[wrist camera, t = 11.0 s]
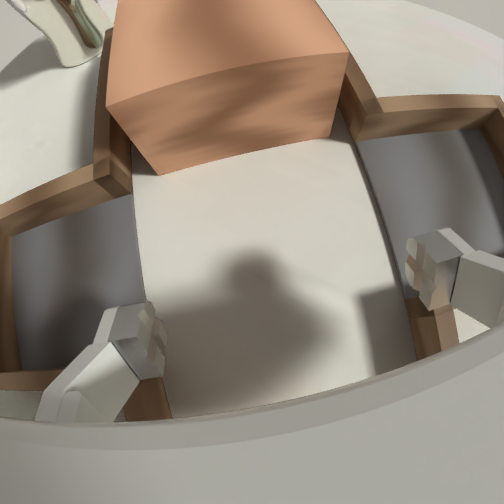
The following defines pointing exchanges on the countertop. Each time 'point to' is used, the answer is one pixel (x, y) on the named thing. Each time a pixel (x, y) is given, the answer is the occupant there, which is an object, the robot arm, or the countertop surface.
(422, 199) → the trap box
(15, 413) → the countertop surface
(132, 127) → the terracotta block
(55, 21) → the beer glass
